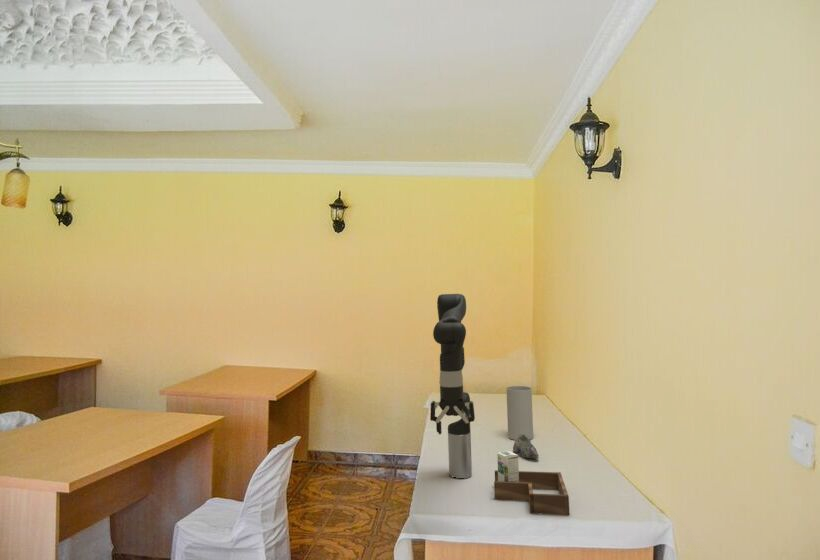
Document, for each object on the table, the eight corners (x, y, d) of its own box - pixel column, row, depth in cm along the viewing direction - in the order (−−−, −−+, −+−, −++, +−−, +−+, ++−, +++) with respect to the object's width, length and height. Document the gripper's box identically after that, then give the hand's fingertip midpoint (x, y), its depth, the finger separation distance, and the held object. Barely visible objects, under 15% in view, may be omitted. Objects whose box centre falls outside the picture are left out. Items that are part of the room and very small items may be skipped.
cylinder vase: (523, 442, 244) (521, 391, 245) (503, 438, 253) (501, 388, 254) (538, 437, 252) (536, 387, 253) (518, 433, 262) (516, 385, 262)
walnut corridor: (495, 486, 189) (494, 470, 189) (561, 488, 185) (560, 472, 185) (494, 511, 167) (493, 493, 167) (569, 514, 163) (568, 496, 163)
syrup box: (497, 492, 184) (496, 452, 184) (511, 489, 186) (509, 449, 187) (506, 497, 178) (505, 456, 179) (520, 494, 181) (518, 454, 181)
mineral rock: (539, 462, 215) (538, 439, 215) (514, 462, 216) (513, 438, 217) (536, 453, 228) (535, 431, 228) (512, 452, 229) (511, 430, 230)
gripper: (474, 381, 165) (475, 431, 164) (431, 381, 167) (433, 430, 167) (472, 386, 157) (474, 437, 157) (428, 386, 160) (429, 436, 159)
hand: (453, 433), depth 162 cm, fingers open, 8 cm apart
